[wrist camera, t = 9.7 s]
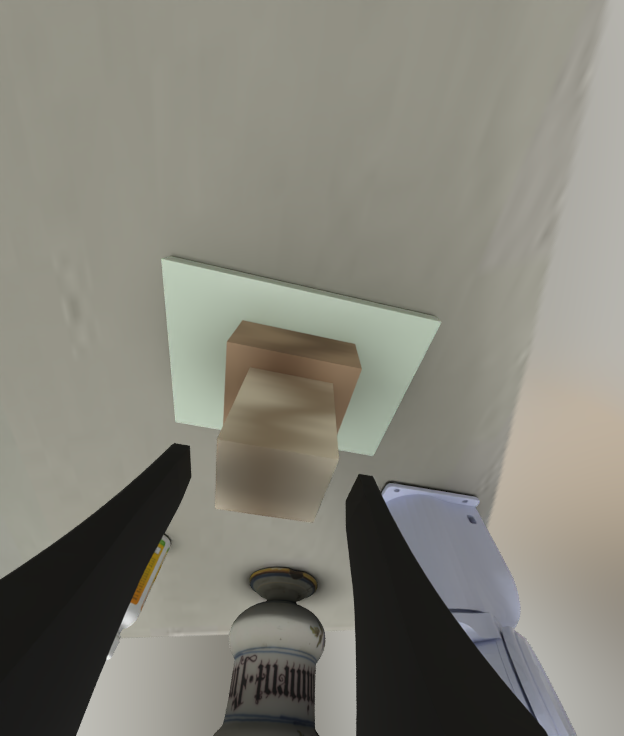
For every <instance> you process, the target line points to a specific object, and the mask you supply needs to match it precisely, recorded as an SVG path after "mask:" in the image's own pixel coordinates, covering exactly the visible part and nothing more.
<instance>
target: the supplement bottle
mask: <svg viewBox="0 0 624 736" xmlns="http://www.w3.org/2000/svg"><path fill="white" fill-rule="evenodd" d="M169 548H170V540H169V539H168V538H167V537H166V536H165V535H163V537H162V539H161V541H160V543H159V545H158V546H157V548H156V550H155V552H154V554H153V556H152V558H151V559H150V561H149V563H148V565H147V567H146V569H145V571H144V573H143V575H142V577H141V579H140V582H139V584H138V586H137V589H136V591H135V593H134V595H133V598H132V600H131V602H130V604H129V607H128V609H127V611H126V614H125V616H124V618H123V621H122V623H121V625H120V628H119V630H118V632H117V635H116V637H115V639H114V642H113V644H112V646H111V649H110V651H109V654H108V656H107V659H106V660H108V659H110V658H111V657H112V655H113V653H114V651H115V649H116V647H117V645H118V644H119V639H120V638H121V636H120V632H121V631H122V629H124V628H127V627H129V626H131V625H132V624H133V623H134V622H135V621H136V620H137V618H138V616H139V614H140V612H141V610H142V608H143V606H144V603H145V601H146V599H147V597H148V594H149V592H150V590H151V588H152V586H153V583H154V581H155V579H156V577H157V575H158V572H159V570H160V568H161V566H162V564H163V561H164V559H165V557H166V555H167V552H168V550H169Z"/></svg>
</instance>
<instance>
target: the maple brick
mask: <svg viewBox="0 0 624 736" xmlns="http://www.w3.org/2000/svg"><path fill="white" fill-rule="evenodd" d="M338 461H339V453H338V441H337V428H336V415H335V402H334V390H333V383H328V382H323V381H318V380H313V379H308V378H303V377H297V376H292V375H287V374H282V373H277V372H272V371H267V370H262V369H256V368H251V367H250V368H249V371H248V373H247V375H246V377H245V379H244V381H243V384H242V386H241V388H240V390H239V392H238V395H237V397H236V399H235V401H234V403H233V405H232V408H231V410H230V412H229V414H228V416H227V418H226V421H225V423H224V425H223V427H222V429H221V432H220V434H219V436H218V438H217V455H216V489H215V509H220V510H227V511H234V512H241V513H248V514H255V515H262V516H269V517H276V518H283V519H290V520H297V521H304V522H311V523H313V522H314V520H315V517H316V515H317V512H318V510H319V507H320V505H321V503H322V500H323V498H324V495H325V493H326V490H327V488H328V485H329V483H330V481H331V478H332V476H333V473H334V471H335V468H336V466H337V463H338Z"/></svg>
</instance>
